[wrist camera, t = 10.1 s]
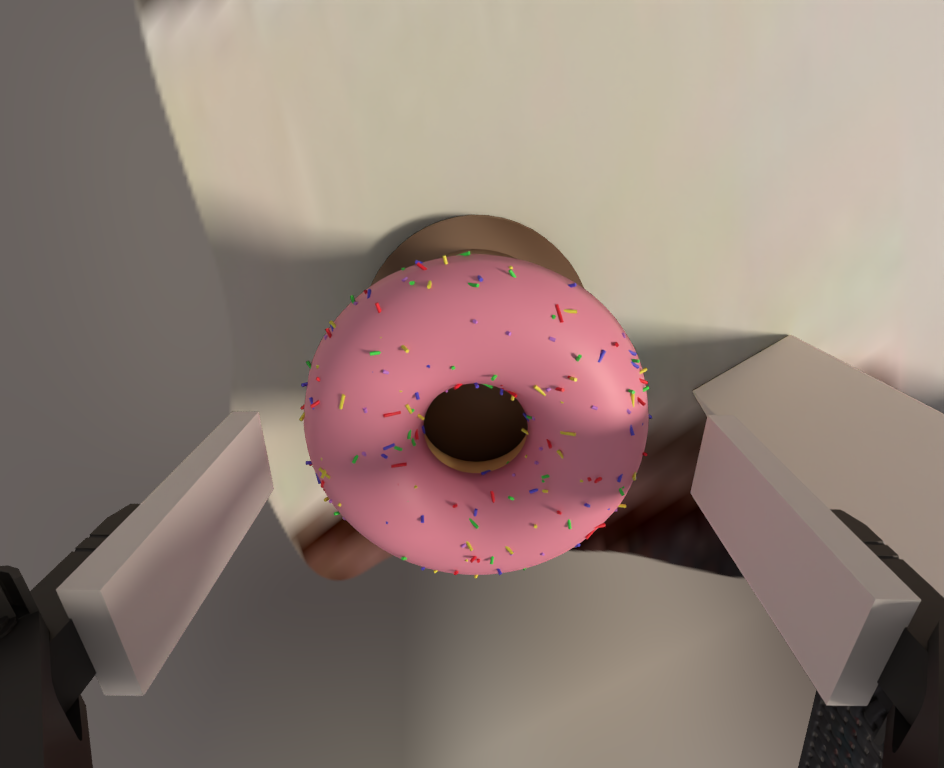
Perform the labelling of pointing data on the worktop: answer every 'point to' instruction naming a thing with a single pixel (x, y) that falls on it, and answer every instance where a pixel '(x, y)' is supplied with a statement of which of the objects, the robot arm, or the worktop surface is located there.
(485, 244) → the brown flanged cylinder
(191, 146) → the worktop surface
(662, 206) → the worktop surface
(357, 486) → the doughnut
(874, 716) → the storage bin
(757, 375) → the milk
